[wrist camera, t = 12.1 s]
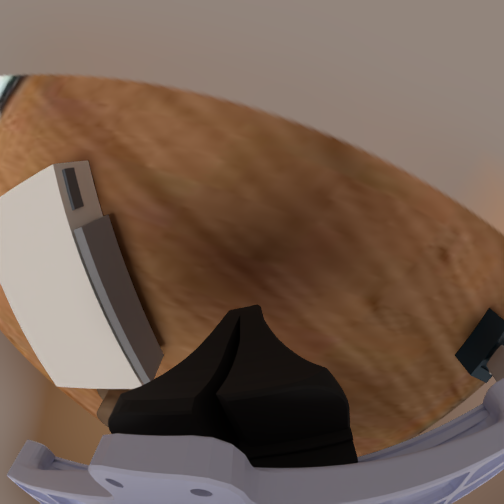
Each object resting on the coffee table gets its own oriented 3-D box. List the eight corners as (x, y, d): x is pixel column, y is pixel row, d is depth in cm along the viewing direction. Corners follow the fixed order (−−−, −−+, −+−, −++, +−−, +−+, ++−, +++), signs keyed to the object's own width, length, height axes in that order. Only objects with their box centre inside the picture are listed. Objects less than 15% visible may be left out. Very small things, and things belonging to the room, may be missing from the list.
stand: (163, 413, 22) (155, 441, 19) (116, 412, 23) (104, 437, 20) (136, 370, 21) (123, 399, 17) (88, 371, 21) (72, 396, 18)
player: (90, 159, 15) (55, 162, 12) (160, 354, 20) (146, 388, 16) (10, 202, 16) (-22, 213, 13) (75, 360, 21) (56, 386, 17)
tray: (108, 214, 16) (81, 226, 13) (163, 354, 19) (151, 383, 16) (24, 246, 16) (-2, 260, 13) (76, 360, 20) (60, 382, 17)
